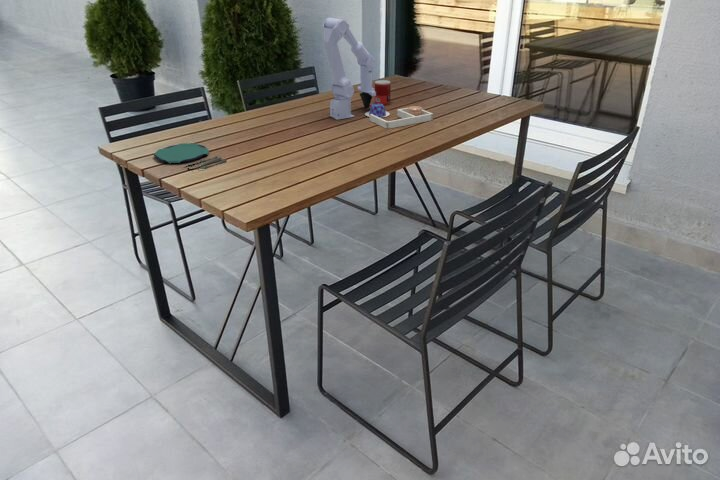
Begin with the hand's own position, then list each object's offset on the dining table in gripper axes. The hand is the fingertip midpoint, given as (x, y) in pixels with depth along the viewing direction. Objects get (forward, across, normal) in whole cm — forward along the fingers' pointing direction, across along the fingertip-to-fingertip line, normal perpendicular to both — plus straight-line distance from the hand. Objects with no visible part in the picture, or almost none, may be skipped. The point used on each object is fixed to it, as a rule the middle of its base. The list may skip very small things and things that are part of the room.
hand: (366, 107), depth 269 cm
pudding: (+2, -10, 0) cm, 10 cm away
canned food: (+1, +6, -13) cm, 14 cm away
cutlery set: (+2, -22, +93) cm, 96 cm away
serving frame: (+1, -24, -4) cm, 25 cm away
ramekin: (+1, -24, -12) cm, 27 cm away
